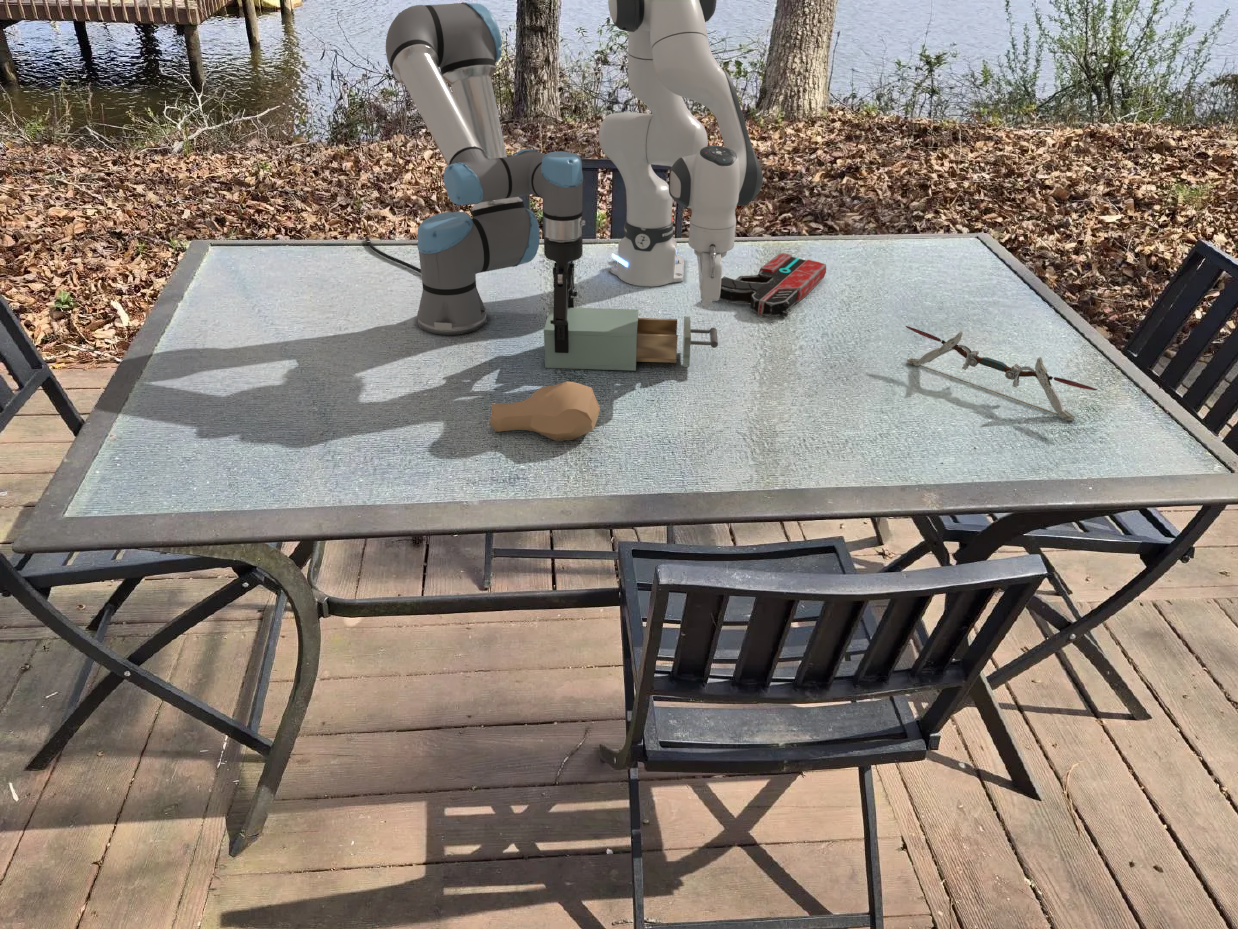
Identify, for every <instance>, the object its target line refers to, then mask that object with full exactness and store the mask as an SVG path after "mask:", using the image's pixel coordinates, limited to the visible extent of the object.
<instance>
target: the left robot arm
mask: <svg viewBox="0 0 1238 929" xmlns="http://www.w3.org/2000/svg"><path fill="white" fill-rule="evenodd" d="M502 42H503V41H502V35H501V31H500V27H499V25H498V22H497V20H496V18H495V16H494V14H493V13H492V12H491V11H490V10H489V9H488V7H487V6H485V5H484V4H481V3H469V2H464V1H463V2H459V3H458V2H456V3H439V4H416V5H411V6H408V7H407V8H405V9H403V10H401V11H400V12H399V13H398V14H397V15H396V17H394V19H393V20H392V22H391V24H390V26H389V27H388V30H387V34H386V38H385V55H386V60H387V63H388V66H389V68H390V70H391V73H392V75H393V76H394V78H395V79H396V81H397V82H399V83H400V84H402V85H404V87H405V88H406V90H407V92H408V94H409V95H410V98H411V99H412V101H413V103H414V105H415V107H416V109H417V111H418V112H419V113H418V114H420V116H421V118H422V120H423V123H424V124H425V126H426V128H427V130H428V131H429V133H430V135H431V137H432V140H433V141H434V143H435V145H436V147H437V149H438V150H439V152H440V155H441V156H442V158H443V160H444V163H445V164H446V167H445V169H444V172H443V184H444V188H445V191H446V195H447V197H448V199H449V200H450V201H451V203H453V204H454V205H457V206H465V205H466V206H467V205H473V206H472V208H471V209H470V211H471V216H472V217H471V216H470V215H469V213H466V212H463V211H453V212H452V211H446V212H440V213H437V214H434V215H431V216H429V217H427V218H426V219H424V220H423V221H422V222H421V223H420V224H419V226H418V227H417V245H416V246H417V247H416V248H417V251H418V258H419V267H420V268H419V267H417V266H416V265H413V264H410V263H408V262H406V261H404V260H401V259H399V258H396V257H394V256H391V255H389V254H387V253H385V252H383V251H381V250H380V249H378V248H377V247H376V246H374V245H373V244H372V242H371V240H370V237H369V236H368V235H367V236H365V237H364V239H365V241H366V243H367V246H368V247H369V248H370V249H371V250H372V251H374V253H376V254H378V255H379V256H382V257H383V258H386V259H388V260H389V261H392V262H395V263H397V264H399V265H401V266H404V267H407V268H409V269H411V270H413V271H416V272H417V273H418V274H420V275H421V276H420V278H421V284H422V292H421V297H420V302H419V305H418V310H417V315H416V318H417V325H418V326H419V328H420V329H421V330H423V331H424V332H427V333H430V334H433V335H440V336H459V335H465V334H469V333H473V332H476V331H477V330H480V329H481V328H483V327H484V326H485V325H486V323H487V320H488V316H487V310H486V306H485V304H484V302H483V299H482V298H481V295H480V293H479V291H478V288H477V278H476V277H477V276H476V275H477V274H481V273H486V272H492V271H497V270H502V269H506V268H510V267H511V268H515V267H518V266H521V265H524V264H528V263H530V262H532V261H533V260H534V259H535V257H536V256H537V254H538V250H539V248H540V240H541V238H540V237H541V235H540V225H539V221H538V219H537V217H536V214H535V213H534V211H533V210H531V209H528V208H525V204H524V200H523V198H521V197H524V196H533V195H535V196H536V197H538V198H540V199H542V229H543V236H544V238H543V254H544V256H545V258H546V259H548V260H549V261H553V262H554V264H553V267H552V276H553V277H552V278H553V284H552V285H553V286H552V287H553V307H554V312H553V320H551V321H550V322H551V324H553V325H554V334H555V353H568V352H569V345H568V320H567V313H568V307H569V308H575V298H574V297H578V291H577V290H575V288H576V286H575V263H574V261H578V260H580V259H581V258H582V257H583V255H584V254H583V253H584V251H583V246H584V245H583V242H584V240H583V238H582V235H583V227H584V226H586V223H587V222H586V220H585V219H583V197H584V196H583V192H584V190H583V189H584V188H583V187H584V186H583V184H584V183H583V182H584V174H583V167H582V166H583V163H582V162H583V161H582V158H581V156H580V155H579V154H577V153H574V152H569V151H564V150H559V151H558V150H557V151H550V152H547V153H545V154H544V153H543V152H541V151H538V150H536V149H532V148H522V149H520V150H518V151H516V153H513V155H511V156H508V155H507V150H506V145H505V141H504V140H505V139H504V136H503V130H502V127H501V121H500V116H499V111H498V106H497V102H496V96H495V91H494V86H493V81H492V77H493V76H494V74H495V73H496V71H497V66H496V64H497V62H498V61H499V60H500V59H501V57H502V52H503V49H502V47H501V46H502V45H503V43H502ZM449 85H450V87H451V88H450V87H449ZM451 89H452V90H451ZM367 241H370V242H367Z"/></svg>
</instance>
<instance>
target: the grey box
mask: <svg viewBox="0 0 1238 929" xmlns="http://www.w3.org/2000/svg"><path fill="white" fill-rule="evenodd" d="M548 310H549V311H548V314H547V317H546V321H545V324H544V328H543V345H544V346H543V347H544V367H545V369H568V370H569V369H572V370H603V371H604V370H605V371H635V372H636V371H637V361H636V347H637V325H638V318H639V309H632V308H630V309H629V308H603V307H601V308H599V307H597V308H596V307H574V308H569V307H568V313H567V320H568V345H569V352H568V353H555V334H554V325H553V324H551V322H550V321H551V320H553V312H554V306H550V307H549V309H548Z"/></svg>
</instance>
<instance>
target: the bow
mask: <svg viewBox="0 0 1238 929" xmlns="http://www.w3.org/2000/svg"><path fill="white" fill-rule="evenodd" d="M905 328H907V329H909V330H910V331H912V332H914V333H916V334H918V335H920V336H923V337H925V338H927V339H930V340H932V341H936V342H939V343H941V344H942V346H940V347H936V348H934V349H932V350H930V351H928V352H926V353H925V354H924V355H923V356H921V357H920V358H913V357H909V358H908V359H907V363H908V364H910V365H912V366H916V367H918V366H920V367H922V368H925V369H927V370H930V371H933V372H935V373H938V374H941V375H945V376H947V377H950V378H952V379H955V380H958V381H960V382H964V383H967V384H970V385H973V386H975V387H978V388H981V389H983V390H986V391H988V392H992V393H995V394H997V395H1001V396H1003V397H1006V398H1008V399H1011V400H1014V401H1016V402H1020V403H1022V404H1026V405H1028V406H1031V407H1033V408H1037V409H1040V410H1042V411H1045V412H1048V413H1050V414H1053V415H1056V416H1059V417H1060V418H1062V419H1063V420H1067V421H1074V419H1076V416H1074V415H1073V414H1072V413H1070V412H1069V411H1067V410H1066V409H1065V408H1064V405H1063V402H1062V398H1061V397H1060V395H1059V394H1058V391H1057V390H1056V389H1055V387H1054V386H1053V385H1052V383H1051V381H1052V380H1054V381H1055V382H1058V383H1062V384H1064V385H1067V386H1070V387H1073V388H1074V387H1075V388H1079V389H1083V390H1091V391H1098V390H1099V389H1098V388H1095V387H1093V386H1089V385H1087V384H1083V383H1080V382H1077V381H1073V380H1069V379H1065V378H1062V377H1056V376H1052V375H1049V373H1048V370H1047V368H1046V366H1045V365H1044V362H1043V358H1042V357H1041V356H1039V357H1038V358H1037V359H1036V362H1035V366H1034V368H1032V367H1030V366H1021V365H1019V364H1018V363H1015V364H1013V366H1011V367H1010V366H1009V365H1008V364H1006V363H1005V362H1002V361H999V360H996V359H994V358H991V357H987V356H986V357H985V356H984V357H980V356H979V354H980V352H979V350H971V348H969V347H968V346H967V345H964V344H959V343H960V342H961V340H962V337H963V331H959V332H958V333H957V334H956V335H955V336H953V337H951V338H949V339H948V340H947V341H946V340H944V339H941V338H940V337H938V336H935V335H933V334H930V333H928V332H926V331H923V330H920V329H918V328H914V327H911V326H908V325H905ZM951 351H956V352H957V353H958V354H959V355H960V356H962V357H963V358H965V362H964V363H963V365H962V367H961V370H964V371H966V370H967V369H969V366H970V367H973V368H975V367H976V366H978V365H979V364H980V365H982V366H984V367H988V368H991V369H994V370H997V371H999V372H1002V373H1005V374H1004V376H1005V378H1006V379H1008V380H1013V381H1012V387H1013V388H1018V387H1019V386H1020V378H1028V377H1035V379H1036V380H1037V381H1038V383H1039V384H1040V386H1041V388H1042V390H1043V391H1044V393H1045V396H1046V398H1047V399H1048V401H1049V403H1050V406H1051V407H1052V409H1053V410H1054V411H1055V412H1053V411H1050V410H1048V409H1045V408H1042V407H1040V406H1036V405H1034V404H1031V403H1028V402H1025V401H1024V400H1023V401H1022V400H1019V399H1017V398H1014V397H1011V396H1008V395H1006V394H1003V393H1000V392H997V391H994V390H991V389H989V388H986V387H983V386H981V385H978V384H975V383H972V382H969V381H966V380H964V379H961V378H957V377H955V376H952V375H949V374H947V373H945V372H941V371H938V370H936V369H932V368H929V367H926V366H924V365H925V364H927V363H931V362H933V361H934V360H935V359H938V358H939V357H940V356H943V355H944V354H946V353H949V352H951Z"/></svg>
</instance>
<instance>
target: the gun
mask: <svg viewBox="0 0 1238 929" xmlns="http://www.w3.org/2000/svg"><path fill="white" fill-rule="evenodd" d="M826 273H827V264H826V263H823V262H820V261H816V260H812V259H802V258H799V257H795V256H793V255H792V254H791V253H784V252H780V253H778V254H777V255H775V256H774V257H773V258H771V259H770V260H768V261H767V262H766V263H765V264H763V265H762V266H761V267H760V269H759V271H758V273H757V274H756V275H753V274H752V275H751V274H750V275H740V276H738V277H737V278H735V279H734V278H731V277H727V276H722V277H721V291H720V298H719V300H718V301H723V302H727V303H730V304H750V305H749V308H750V310H751V312H753V313H755V314H757V315H758V316H760V317H761V316H765V317H770V318H771V317H777V316H780V317H784V318H787V317H788V315H789V311H788V310H790V309H791V308H792V307H793V306H794V305H795V304H798V303H799V302H801V301H802V300H803V299H804V298H805V297H807V296H808V295H809V294H810V293H811V292H812V291H813V290H814V289H815V287H817V285H818V284H820V283H821V282H822V280H823V279H824V278H825V276H826Z"/></svg>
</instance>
